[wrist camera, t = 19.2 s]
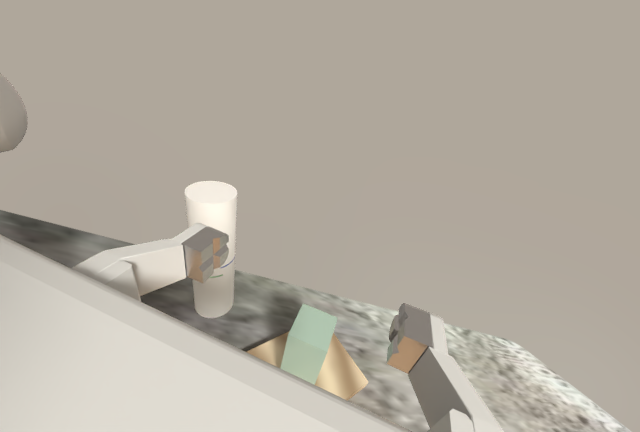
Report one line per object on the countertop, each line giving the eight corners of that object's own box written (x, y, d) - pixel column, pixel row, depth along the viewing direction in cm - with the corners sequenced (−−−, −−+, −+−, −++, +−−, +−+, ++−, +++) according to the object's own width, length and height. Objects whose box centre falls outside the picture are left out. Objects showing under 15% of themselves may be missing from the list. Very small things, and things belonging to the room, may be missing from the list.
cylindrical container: (240, 303, 50) (246, 195, 38) (208, 325, 45) (202, 209, 32) (220, 283, 54) (219, 177, 41) (187, 301, 48) (174, 187, 36)
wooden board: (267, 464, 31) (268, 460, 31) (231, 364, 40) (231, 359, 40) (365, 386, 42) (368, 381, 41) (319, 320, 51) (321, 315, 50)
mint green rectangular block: (310, 395, 38) (327, 351, 31) (277, 380, 38) (288, 334, 32) (321, 361, 42) (337, 317, 36) (291, 348, 43) (302, 303, 37)
